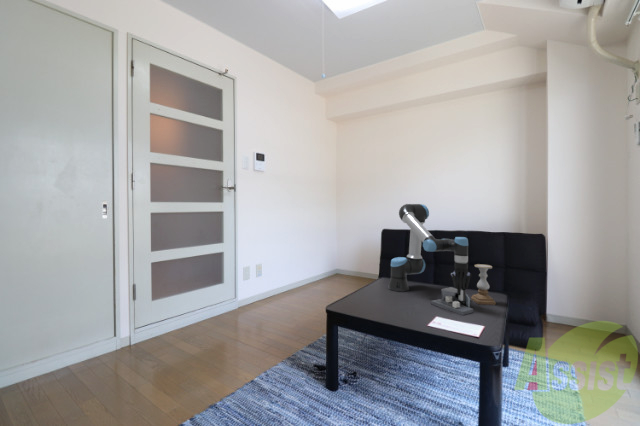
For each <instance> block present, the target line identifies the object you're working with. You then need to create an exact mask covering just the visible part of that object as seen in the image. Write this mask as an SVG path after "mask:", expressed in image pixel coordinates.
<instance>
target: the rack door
mask: <svg viewBox="0 0 640 426" xmlns="http://www.w3.org/2000/svg"><path fill="white" fill-rule="evenodd" d="M473 302H474V301H473V300H471V297H470V296H469V295H468V293H467V292H465V303H464V304H465V305H466V307H469V308H471V306H470V305H471V303H472V304H473Z"/></svg>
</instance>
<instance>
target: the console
mask: <svg viewBox="0 0 640 426" xmlns="http://www.w3.org/2000/svg"><path fill="white" fill-rule="evenodd" d="M430 304H431V305H432V306H436V307H439V308H441V309H444V310H447V311H450V312H452V313H456V314H458V315H461V316H464V315H468V314H472V313H474V308H472V307H468V306H467V305H466V306H465V305H463V304H460V307H458V308H455V307H453V302H446V300H444V299H441V298H438V299H434V300H430Z"/></svg>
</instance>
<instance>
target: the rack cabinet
mask: <svg viewBox="0 0 640 426" xmlns="http://www.w3.org/2000/svg"><path fill="white" fill-rule="evenodd" d="M440 292H441V293H440V297H441V298H440V299H444V300H446V296H451V297H452V302H454V301H458V302H460V305H463V304H466V303H465V294H464V295H463V301H460V300H459V295H458V294H457V289H456V288H454V286H450V287H444V288H441V290H440Z"/></svg>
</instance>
